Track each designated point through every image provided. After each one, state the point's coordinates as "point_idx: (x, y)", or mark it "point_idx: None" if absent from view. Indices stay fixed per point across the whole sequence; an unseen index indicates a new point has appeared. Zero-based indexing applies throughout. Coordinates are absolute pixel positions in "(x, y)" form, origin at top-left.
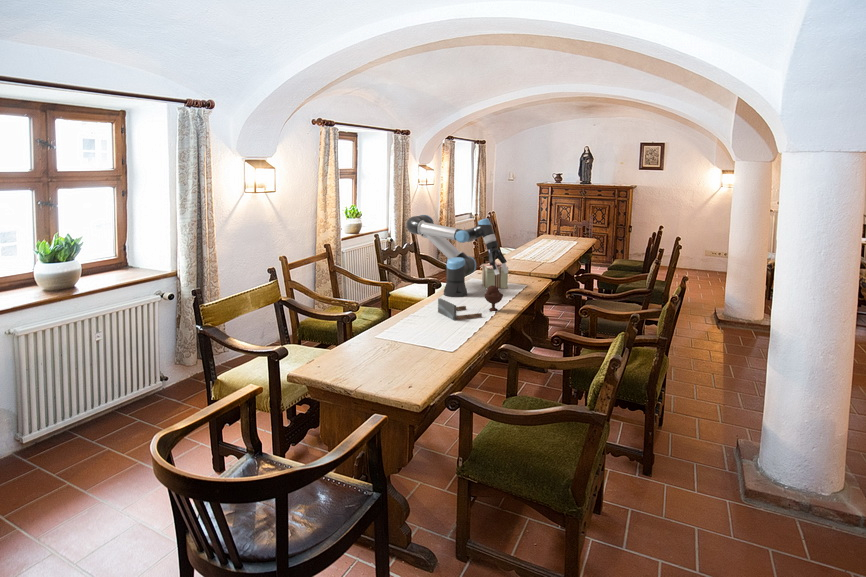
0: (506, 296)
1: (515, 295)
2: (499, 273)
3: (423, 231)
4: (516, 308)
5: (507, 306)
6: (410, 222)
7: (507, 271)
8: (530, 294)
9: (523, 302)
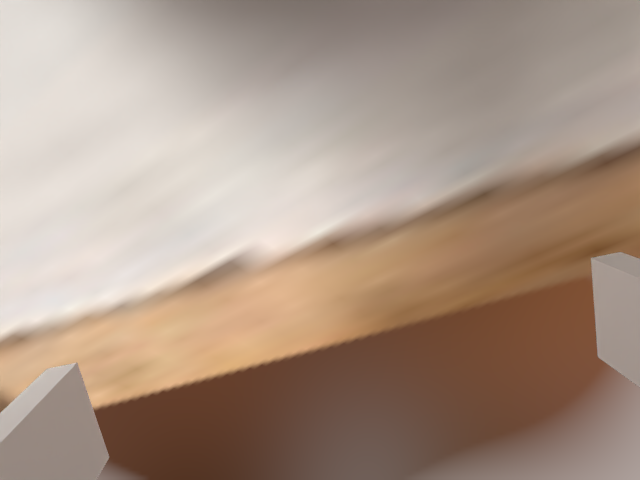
0: (368, 148)
1: (478, 188)
2: (104, 459)
3: None
4: None
5: (46, 351)
6: None
7: (614, 355)
8: None
9: (262, 355)
